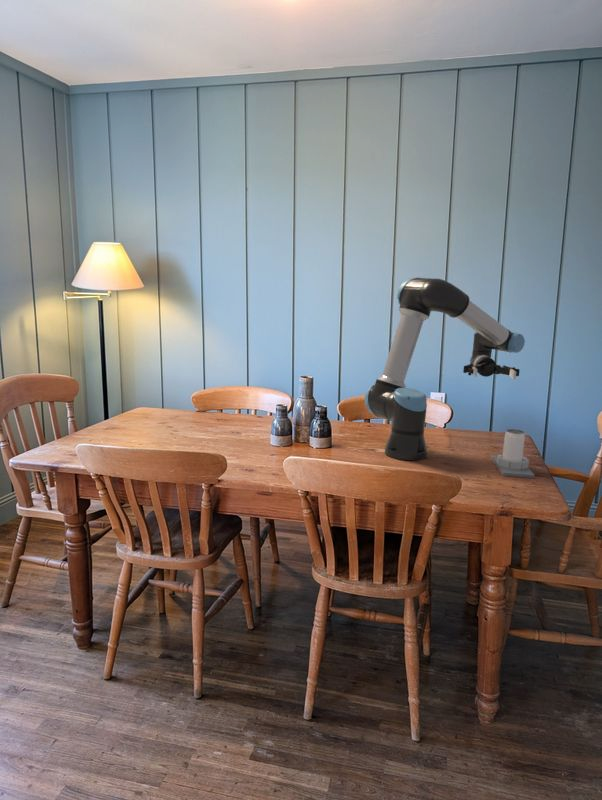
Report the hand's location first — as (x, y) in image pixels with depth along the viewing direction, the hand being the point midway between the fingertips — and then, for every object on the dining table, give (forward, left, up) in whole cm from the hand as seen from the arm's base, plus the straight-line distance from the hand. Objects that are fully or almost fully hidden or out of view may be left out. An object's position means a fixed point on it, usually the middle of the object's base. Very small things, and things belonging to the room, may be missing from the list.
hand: (495, 374), depth 212 cm
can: (+6, -15, -29) cm, 33 cm away
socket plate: (+6, -15, -30) cm, 34 cm away
